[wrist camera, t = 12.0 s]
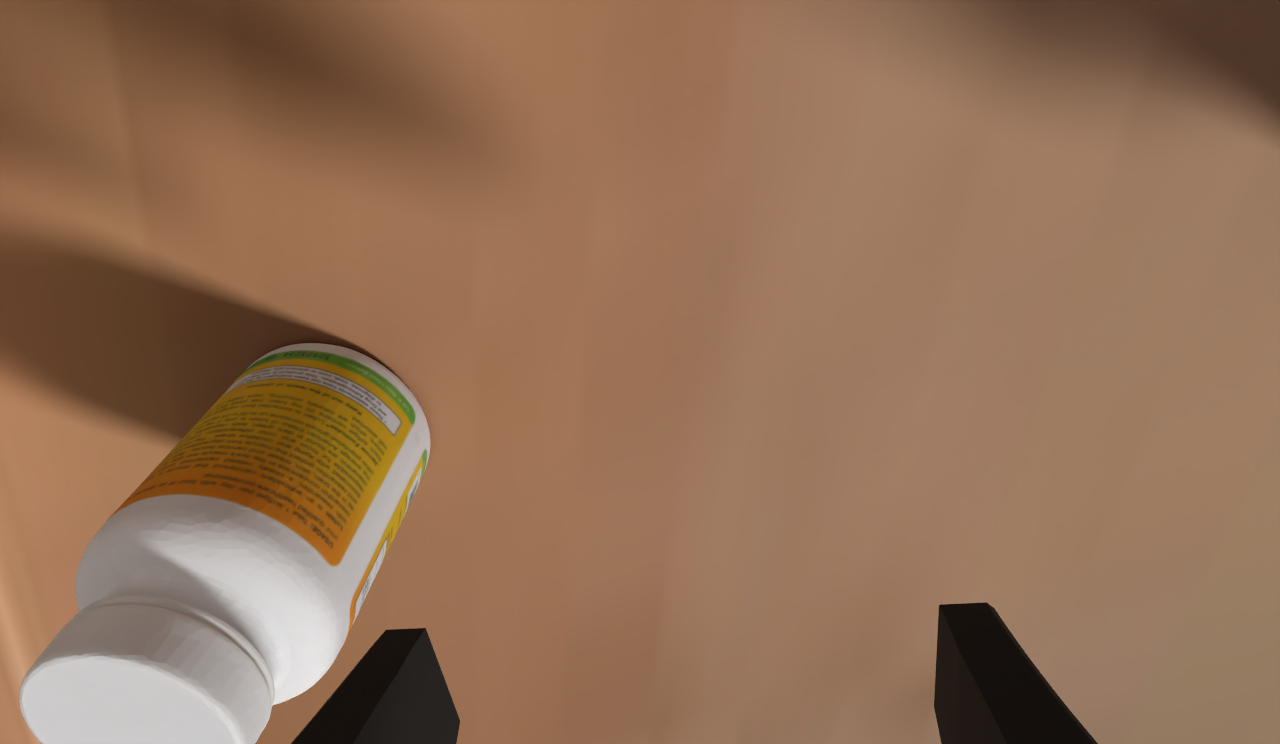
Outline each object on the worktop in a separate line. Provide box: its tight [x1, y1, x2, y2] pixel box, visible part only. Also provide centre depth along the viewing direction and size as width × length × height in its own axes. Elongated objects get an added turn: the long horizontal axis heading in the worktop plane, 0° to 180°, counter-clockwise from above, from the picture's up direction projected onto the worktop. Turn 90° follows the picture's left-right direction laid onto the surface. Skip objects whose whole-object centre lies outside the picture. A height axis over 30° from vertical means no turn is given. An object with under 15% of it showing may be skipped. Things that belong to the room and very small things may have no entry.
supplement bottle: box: [19, 343, 430, 744], centre depth 19 cm, size 5×5×10 cm
